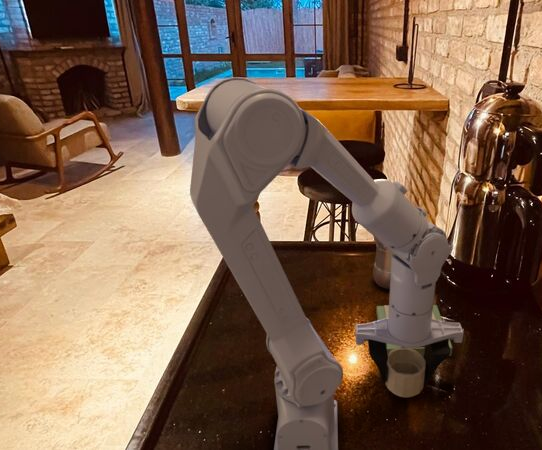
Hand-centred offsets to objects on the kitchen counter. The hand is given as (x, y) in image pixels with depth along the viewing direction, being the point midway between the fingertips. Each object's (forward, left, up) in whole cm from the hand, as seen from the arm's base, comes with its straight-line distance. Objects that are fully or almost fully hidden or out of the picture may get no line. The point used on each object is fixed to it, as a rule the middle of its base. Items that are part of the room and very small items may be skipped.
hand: (404, 377), depth 60 cm
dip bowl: (0, 0, -1) cm, 1 cm away
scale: (+11, -3, -2) cm, 12 cm away
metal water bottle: (+26, -1, -2) cm, 26 cm away
